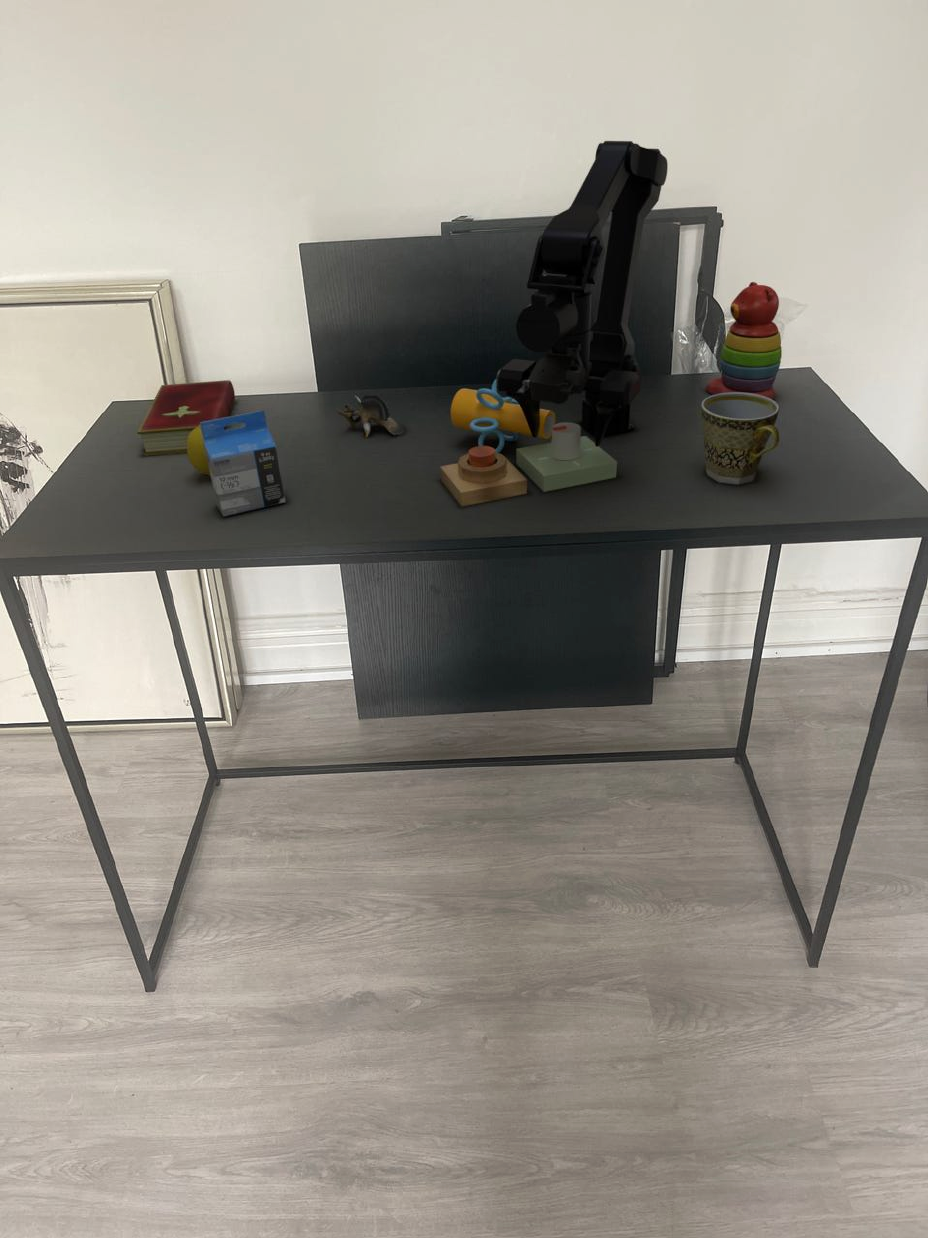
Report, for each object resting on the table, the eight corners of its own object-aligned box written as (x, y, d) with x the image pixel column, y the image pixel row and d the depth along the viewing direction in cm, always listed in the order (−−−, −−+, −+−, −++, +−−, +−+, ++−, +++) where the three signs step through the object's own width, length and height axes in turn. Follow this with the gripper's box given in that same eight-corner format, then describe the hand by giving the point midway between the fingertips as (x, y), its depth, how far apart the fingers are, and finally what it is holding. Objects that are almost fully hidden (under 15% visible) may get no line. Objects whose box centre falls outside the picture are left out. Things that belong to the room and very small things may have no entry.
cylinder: (440, 455, 136) (529, 475, 129) (436, 388, 130) (529, 405, 123) (481, 426, 144) (567, 443, 138) (479, 361, 138) (568, 376, 132)
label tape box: (222, 518, 122) (203, 432, 115) (216, 506, 125) (198, 421, 118) (286, 503, 125) (271, 418, 118) (279, 492, 128) (264, 408, 121)
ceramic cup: (680, 468, 129) (686, 400, 123) (738, 453, 132) (747, 386, 126) (737, 505, 119) (747, 433, 113) (799, 488, 122) (811, 417, 116)
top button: (489, 455, 126) (489, 443, 125) (499, 465, 123) (499, 453, 122) (465, 460, 125) (465, 448, 124) (474, 470, 122) (473, 458, 121)
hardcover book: (236, 401, 159) (231, 378, 156) (221, 449, 141) (216, 423, 139) (166, 406, 158) (161, 383, 156) (143, 455, 141) (136, 430, 138)
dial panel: (585, 451, 135) (585, 434, 133) (616, 477, 127) (617, 460, 125) (516, 464, 132) (516, 447, 130) (543, 492, 124) (543, 474, 123)
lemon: (198, 487, 130) (186, 435, 126) (189, 473, 134) (177, 422, 130) (236, 478, 132) (225, 426, 128) (226, 465, 136) (215, 414, 132)
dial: (572, 446, 130) (573, 418, 128) (584, 457, 127) (585, 428, 125) (546, 451, 129) (547, 422, 127) (558, 462, 126) (559, 433, 124)
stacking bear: (702, 387, 154) (714, 279, 144) (760, 382, 155) (776, 274, 145) (724, 410, 145) (738, 296, 135) (786, 405, 146) (804, 291, 136)
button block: (503, 468, 131) (502, 442, 129) (527, 494, 124) (527, 467, 122) (440, 480, 129) (439, 454, 126) (461, 507, 122) (460, 479, 119)
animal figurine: (336, 435, 141) (389, 428, 138) (334, 389, 141) (387, 381, 138) (358, 443, 148) (409, 437, 145) (356, 400, 148) (407, 393, 145)
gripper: (477, 340, 116) (481, 454, 125) (618, 354, 109) (612, 474, 117) (511, 316, 124) (513, 424, 133) (645, 328, 117) (637, 441, 126)
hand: (566, 441), depth 127 cm, fingers open, 9 cm apart
